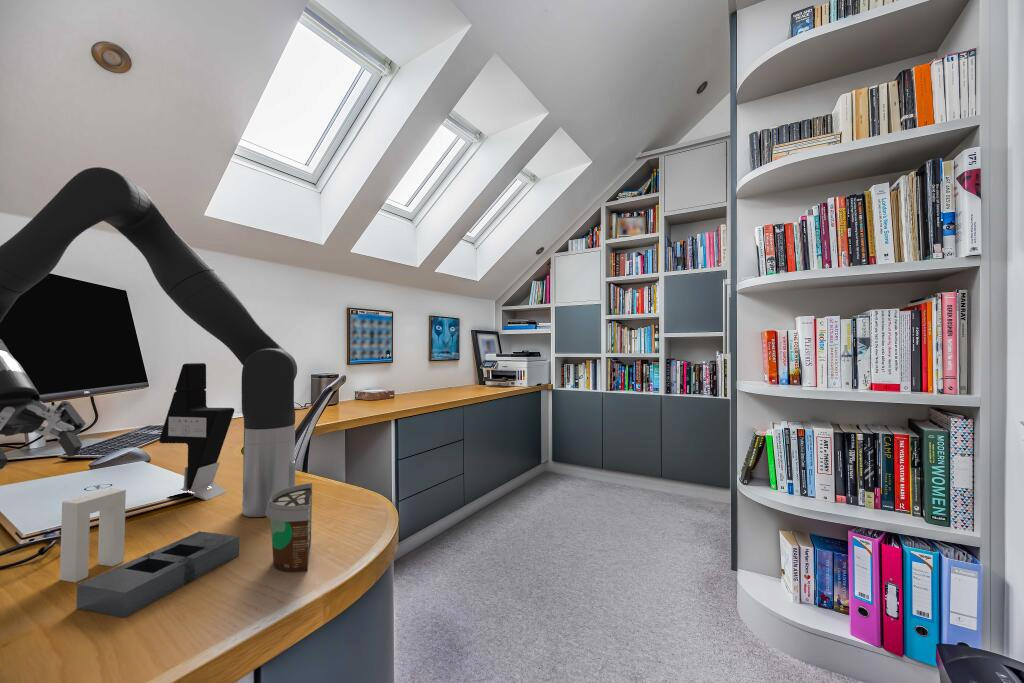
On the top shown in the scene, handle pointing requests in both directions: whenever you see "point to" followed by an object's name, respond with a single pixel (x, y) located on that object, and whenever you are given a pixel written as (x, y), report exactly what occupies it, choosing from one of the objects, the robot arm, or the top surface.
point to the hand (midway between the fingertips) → (40, 459)
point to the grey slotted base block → (155, 574)
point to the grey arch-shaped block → (78, 530)
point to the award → (197, 430)
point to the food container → (291, 527)
